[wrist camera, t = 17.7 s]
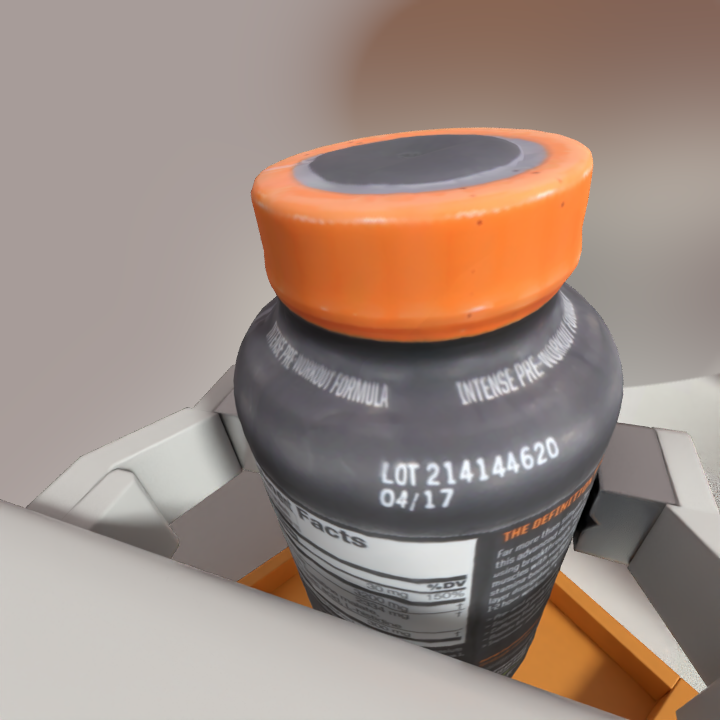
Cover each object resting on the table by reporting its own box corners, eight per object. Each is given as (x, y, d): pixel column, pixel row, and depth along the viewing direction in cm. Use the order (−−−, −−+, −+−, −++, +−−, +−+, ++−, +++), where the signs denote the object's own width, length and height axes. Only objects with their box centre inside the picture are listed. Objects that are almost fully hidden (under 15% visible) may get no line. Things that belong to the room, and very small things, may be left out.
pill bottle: (459, 472, 15) (491, 97, 8) (585, 656, 10) (925, 139, 3) (296, 532, 13) (164, 148, 7) (354, 774, 9) (117, 330, 2)
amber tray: (205, 632, 18) (189, 613, 17) (425, 475, 24) (426, 452, 23) (393, 1156, 9) (388, 1197, 8) (677, 711, 15) (700, 694, 14)
